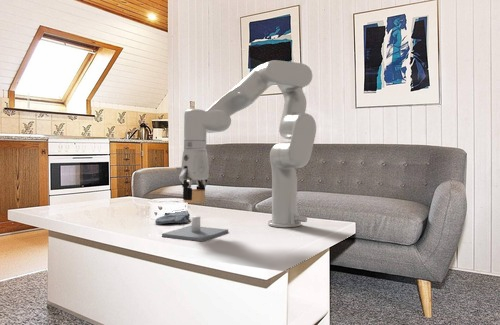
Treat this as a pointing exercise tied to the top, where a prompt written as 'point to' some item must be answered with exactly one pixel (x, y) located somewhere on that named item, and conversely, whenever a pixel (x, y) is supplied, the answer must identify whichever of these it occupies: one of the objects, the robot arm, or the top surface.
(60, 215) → the top surface
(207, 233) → the grey square base plate
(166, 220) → the fossil
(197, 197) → the ring
